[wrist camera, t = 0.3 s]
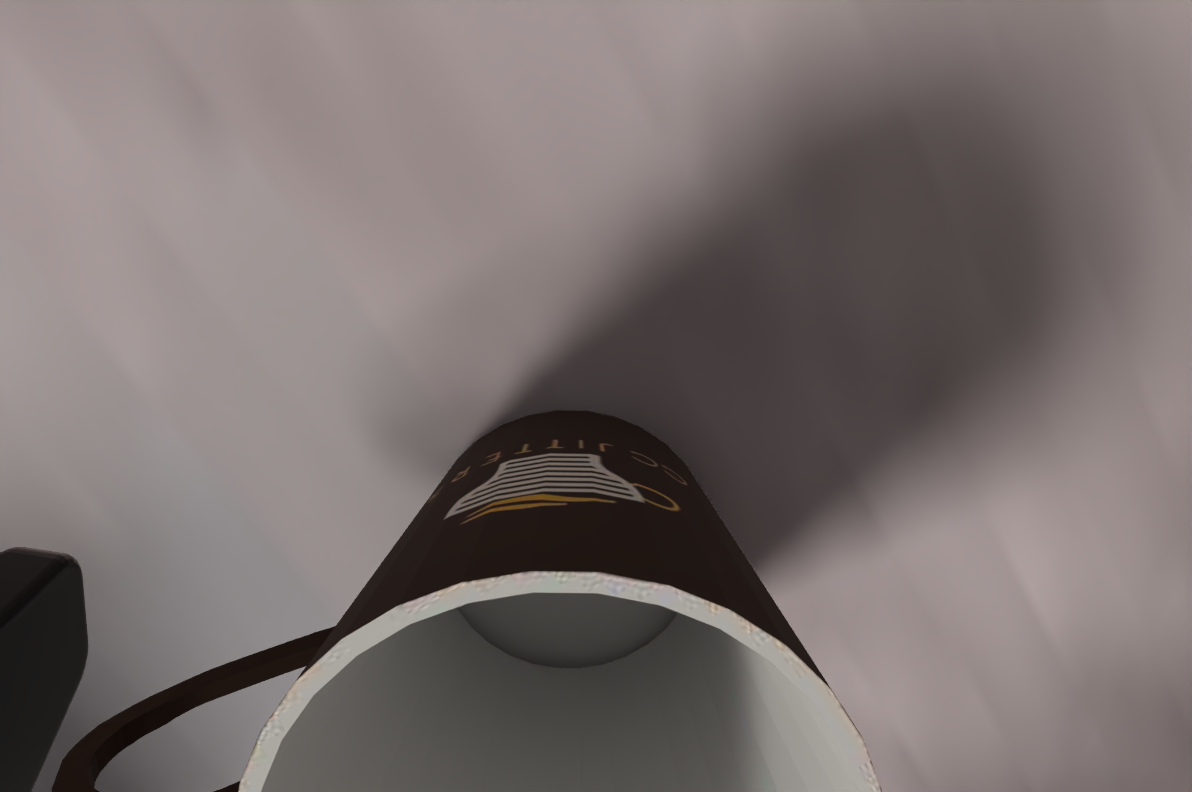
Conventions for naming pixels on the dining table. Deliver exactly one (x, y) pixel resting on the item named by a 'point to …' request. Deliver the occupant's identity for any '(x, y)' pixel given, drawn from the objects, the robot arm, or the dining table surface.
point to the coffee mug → (540, 646)
